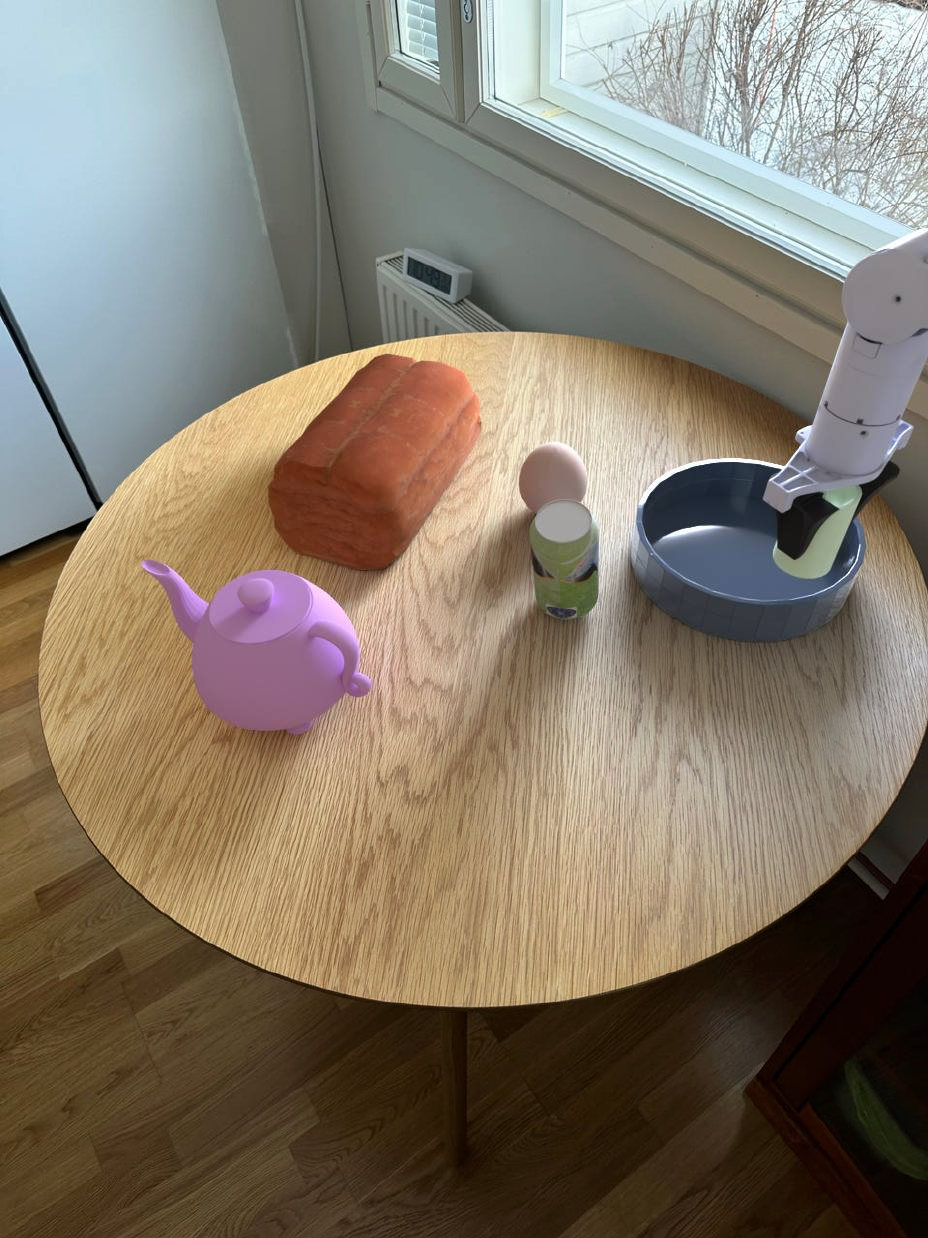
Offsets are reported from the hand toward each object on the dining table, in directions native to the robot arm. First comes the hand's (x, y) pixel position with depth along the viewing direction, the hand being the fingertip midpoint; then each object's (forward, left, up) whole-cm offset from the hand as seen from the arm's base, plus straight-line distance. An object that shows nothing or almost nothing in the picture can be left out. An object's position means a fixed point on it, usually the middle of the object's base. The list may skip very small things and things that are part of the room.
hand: (810, 540), depth 71 cm
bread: (+43, -12, -10) cm, 45 cm away
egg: (+24, -11, -10) cm, 28 cm away
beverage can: (+21, +3, -10) cm, 23 cm away
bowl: (+4, -6, -9) cm, 12 cm away
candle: (0, 0, -3) cm, 3 cm away
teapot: (+45, +17, -10) cm, 49 cm away
